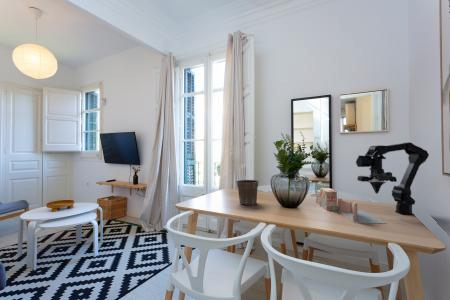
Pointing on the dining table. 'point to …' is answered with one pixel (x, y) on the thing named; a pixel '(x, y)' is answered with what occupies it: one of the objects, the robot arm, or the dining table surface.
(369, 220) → the board
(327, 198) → the stack of blocks
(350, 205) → the fixed fence section
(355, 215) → the fence panel
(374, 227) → the dining table surface
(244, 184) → the plant pot
